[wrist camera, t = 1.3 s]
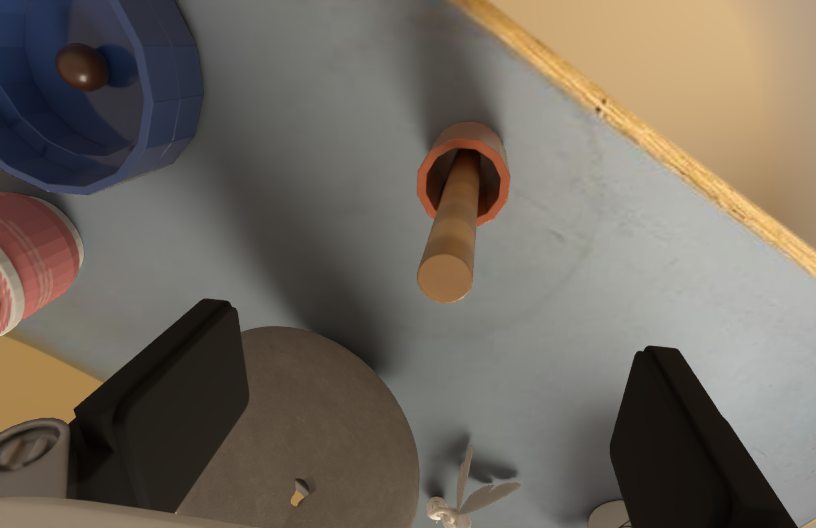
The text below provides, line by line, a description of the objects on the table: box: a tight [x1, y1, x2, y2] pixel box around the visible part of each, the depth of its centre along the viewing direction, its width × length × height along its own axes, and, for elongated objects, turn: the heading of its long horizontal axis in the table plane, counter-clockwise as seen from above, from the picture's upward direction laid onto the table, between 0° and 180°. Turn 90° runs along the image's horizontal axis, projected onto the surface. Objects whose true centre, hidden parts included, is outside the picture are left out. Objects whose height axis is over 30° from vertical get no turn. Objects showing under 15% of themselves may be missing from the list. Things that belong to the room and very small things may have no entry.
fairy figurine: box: [426, 446, 521, 528], centre depth 44 cm, size 6×7×7 cm
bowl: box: [0, 0, 204, 195], centre depth 30 cm, size 15×15×6 cm
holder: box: [417, 121, 510, 227], centre depth 28 cm, size 5×5×7 cm
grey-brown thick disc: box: [176, 326, 420, 528], centre depth 32 cm, size 18×7×19 cm, turn 51°
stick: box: [417, 148, 481, 303], centre depth 23 cm, size 2×2×18 cm
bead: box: [55, 43, 110, 92], centre depth 31 cm, size 3×3×3 cm
